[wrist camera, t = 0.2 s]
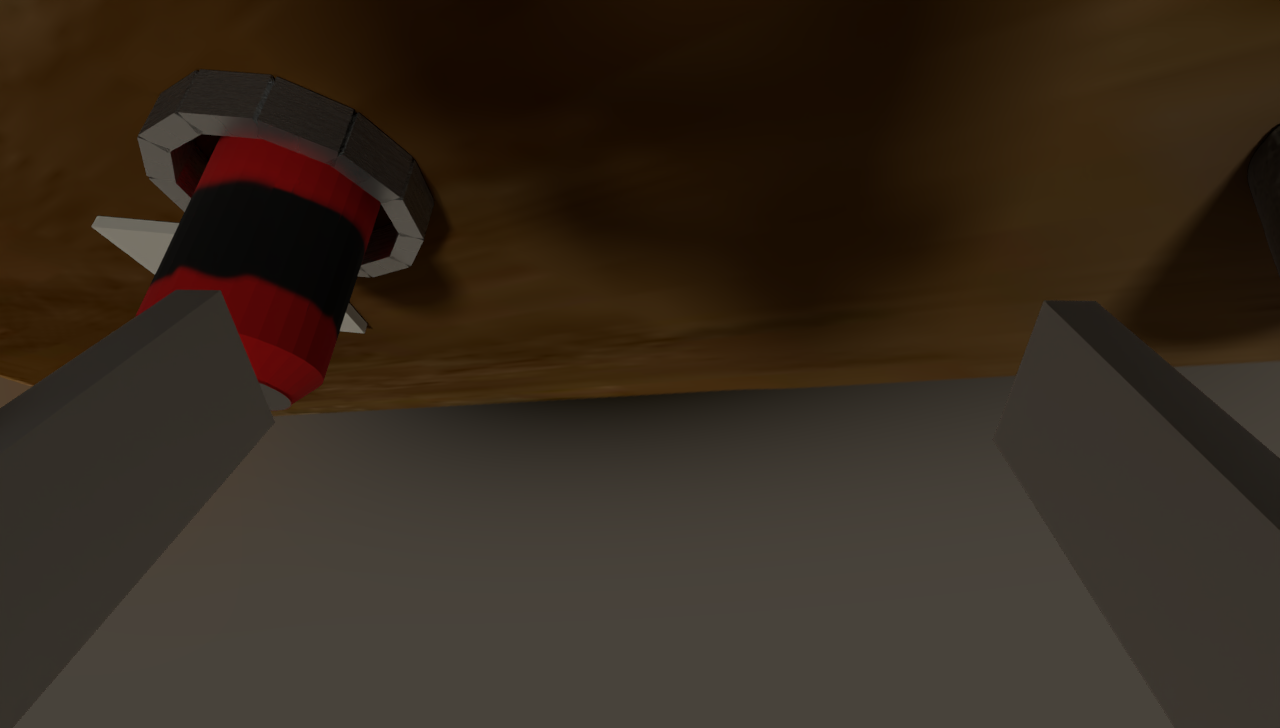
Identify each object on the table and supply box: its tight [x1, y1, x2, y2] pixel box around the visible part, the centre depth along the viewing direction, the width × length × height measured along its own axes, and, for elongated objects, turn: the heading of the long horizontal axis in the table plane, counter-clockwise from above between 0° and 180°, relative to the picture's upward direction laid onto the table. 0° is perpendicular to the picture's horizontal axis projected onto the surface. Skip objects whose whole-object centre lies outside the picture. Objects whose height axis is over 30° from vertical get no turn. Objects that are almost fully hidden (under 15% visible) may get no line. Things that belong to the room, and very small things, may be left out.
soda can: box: [135, 136, 381, 411], centre depth 30 cm, size 8×8×12 cm
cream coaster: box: [92, 216, 367, 333], centre depth 44 cm, size 12×12×1 cm
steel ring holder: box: [137, 69, 434, 278], centre depth 32 cm, size 12×12×2 cm
